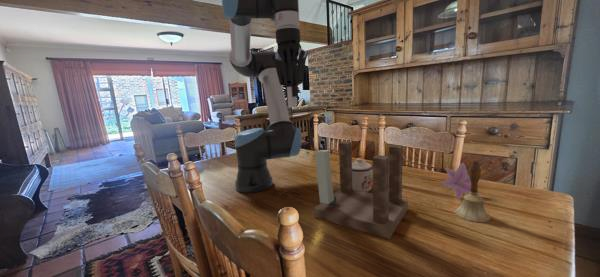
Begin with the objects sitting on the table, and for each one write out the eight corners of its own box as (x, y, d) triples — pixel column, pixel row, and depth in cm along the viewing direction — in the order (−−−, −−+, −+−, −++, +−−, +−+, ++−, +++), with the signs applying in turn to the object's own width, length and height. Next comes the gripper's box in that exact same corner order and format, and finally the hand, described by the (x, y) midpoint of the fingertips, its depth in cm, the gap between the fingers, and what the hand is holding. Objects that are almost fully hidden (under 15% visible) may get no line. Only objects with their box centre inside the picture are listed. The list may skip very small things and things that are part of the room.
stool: (314, 217, 75) (311, 152, 72) (342, 195, 90) (340, 140, 86) (389, 239, 63) (389, 161, 59) (407, 209, 77) (408, 145, 73)
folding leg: (320, 202, 75) (314, 152, 72) (325, 198, 77) (320, 149, 75) (328, 204, 73) (323, 152, 70) (333, 200, 75) (329, 150, 73)
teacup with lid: (365, 195, 88) (365, 163, 86) (342, 190, 94) (341, 160, 92) (379, 184, 97) (379, 155, 95) (357, 180, 103) (356, 152, 101)
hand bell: (491, 225, 66) (497, 166, 63) (454, 218, 70) (457, 163, 67) (489, 211, 73) (493, 158, 70) (455, 206, 77) (458, 155, 74)
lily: (434, 200, 84) (448, 180, 78) (431, 176, 93) (444, 157, 87) (472, 212, 82) (490, 193, 76) (466, 186, 91) (481, 168, 85)
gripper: (263, 31, 78) (269, 108, 82) (297, 23, 70) (302, 108, 75) (279, 35, 84) (284, 106, 88) (312, 27, 76) (316, 106, 81)
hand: (292, 107), depth 81 cm, fingers closed
